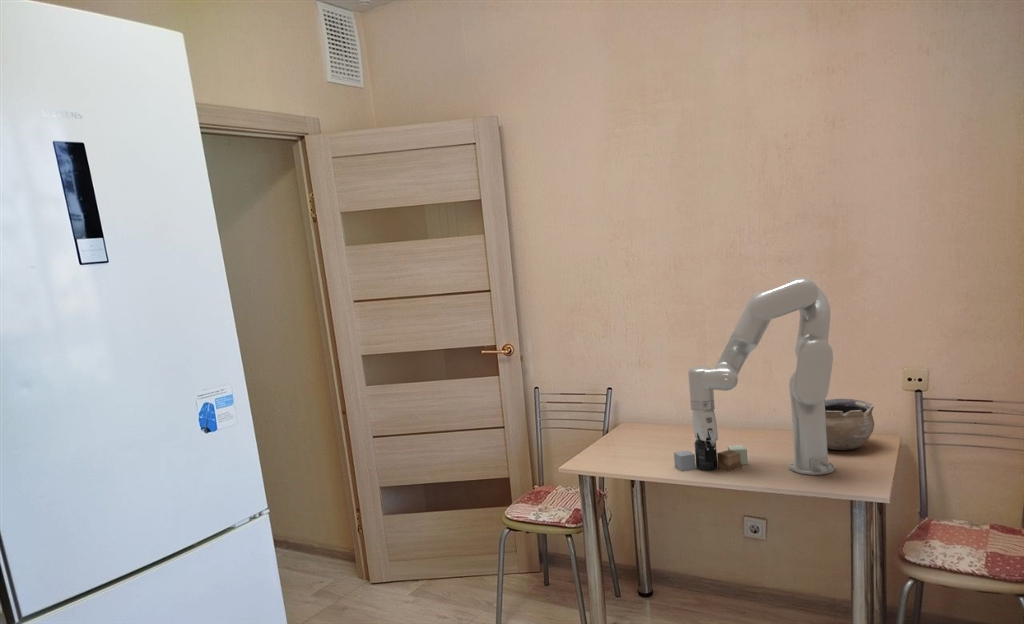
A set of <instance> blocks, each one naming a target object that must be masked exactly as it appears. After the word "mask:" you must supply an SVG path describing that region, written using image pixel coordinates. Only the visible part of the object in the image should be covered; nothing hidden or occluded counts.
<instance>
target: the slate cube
mask: <svg viewBox="0 0 1024 624" xmlns="http://www.w3.org/2000/svg"><path fill="white" fill-rule="evenodd" d="M673 457H674V467H675V468H676V469H677V468H678V469H677V470H679V471H680V470H681V471H680V472H684V471H685V470H686V471H691V470H692V469H693V470H696V468H697V467H696V457H695V453H693V452H692V451H690V450H688V449H687V450H679V451H675V452H673Z"/></svg>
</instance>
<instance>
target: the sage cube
mask: <svg viewBox="0 0 1024 624" xmlns="http://www.w3.org/2000/svg"><path fill="white" fill-rule="evenodd" d="M727 450H731V451H734V452H738V453H740V459H741V465H748V464H749V463H748V462H749V461H748V449H747V448H746V447H745V445H743V444H742V445H740V444H739V445H737V444H736V445H727Z"/></svg>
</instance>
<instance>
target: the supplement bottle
mask: <svg viewBox="0 0 1024 624" xmlns="http://www.w3.org/2000/svg"><path fill="white" fill-rule="evenodd" d="M697 438H698V439H697V440H696V439H695V441H694V454H695V466H696V468H697V470H700V471H707V472H708V471H709V472H710V471H715V470H716V469H718V457H717V453H718V451H717V444H716V445H715V456H716V461H715V462H706V460H705V450H706V447H705V443H704V441H702V440H701V439H700V437H699V435H698V433H697ZM706 440H710V438H709V439H706ZM709 443H710V442H708V443H707V444H708V445H709Z"/></svg>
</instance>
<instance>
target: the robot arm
mask: <svg viewBox="0 0 1024 624" xmlns="http://www.w3.org/2000/svg"><path fill="white" fill-rule="evenodd" d="M796 311H799V321H798V322H799V326H798V331H797V339H796V343H795V348H794V349H795V351H794V352H795V355H796V358H797V360H796V368H795V371H794V372H793V373H792V374H791V376H790V377H789V380H788V381H789V383H788V387H789V396H790V406H791V407H790V408H791V424H792V439H793V440H792V441H793V457H794V460H793V461H791V462H790V463H789V469H790V470H791V471H793V472H795V473H798V474H802V475H808V476H809V475H812V476H814V475H815V476H818V475H819V476H820V475H827V474H828V475H829V474H831V473H833V472H834V471H835V465H834V464H833V463H831V462H829V455H828V451H829V450H828V448H827V434H826V414H825V403H824V400H826V398H827V397H828V395H829V390H830V384H831V378H832V372H833V371H832V370H833V363H834V352H833V348H832V346H831V344H830V343H829V337H830V326H831V306H830V303H829V300H828V298H827V296H826V295H825V293H824V291H823V290H822V289H821V288H820V287H819V286H818V285H817V284H816V283H815V282H814V281H813V280H812V279H810V278H807V277H801V276H798V277H794V278H791V279H790V280H789V281H788V282H787V283H785V284H783V285H781V286H779V287H775V288H773V289H769V290H767V291H757V292H755V293H754V294H753V295H752V296H751V297H750V299H749V300H748V302H747V303H746V306H745V308H744V310H743V312H742V314H741V315H740V318H739V319H738V321H737V323H736V325H735V327H734V329H733V331H732V333H731V335H730V336H729V339H728V342H727V343H726V346H725V347H724V350H723V352H722V353H721V355H720V357H719V359H718V361H717V363H716V365H715V366H714V368H710V367H709V366H693V367H691V368H689V369H688V385H689V386H688V387H689V388H688V389H689V400H690V410H691V411H692V429H693V430H692V431H693V435H694V437H695V441H696V440H697V439H698V438H697V433H698V435H699V437H700V439H701V440H702V441H704V443H705V447H706V450H705V460H706V462H715V461H716V456H715V445H716V446H717V441H718V440H719V434H718V425H717V418H716V414H715V413H716V412H715V409H716V408H715V407H716V406H715V391H723V392H724V391H725V392H727V391H731V390H733V389H734V388H736V387H737V385H738V381H739V377H738V375H739V373H740V371H741V369H742V367H743V366H744V363H745V361H746V360H747V359H748V357H749V355H750V354H751V353H752V352H753V351H754V350H755V349H757V347H758V346H759V344H760V342H761V340H762V338H763V336H764V334H765V332H766V331H767V328H768V326H770V323H771V321H772V320H773V319H777V318H780V317H783V316H786V315H789V314H791V313H794V312H796ZM709 438H710V440H706V439H709ZM708 442H710V443H709V445H708V444H707V443H708Z"/></svg>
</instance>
